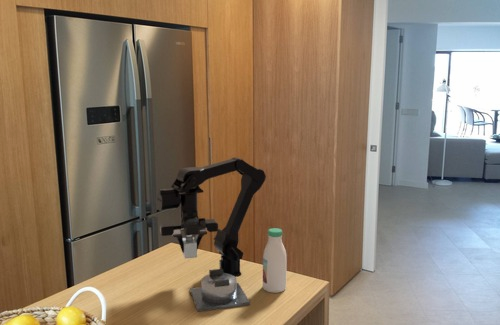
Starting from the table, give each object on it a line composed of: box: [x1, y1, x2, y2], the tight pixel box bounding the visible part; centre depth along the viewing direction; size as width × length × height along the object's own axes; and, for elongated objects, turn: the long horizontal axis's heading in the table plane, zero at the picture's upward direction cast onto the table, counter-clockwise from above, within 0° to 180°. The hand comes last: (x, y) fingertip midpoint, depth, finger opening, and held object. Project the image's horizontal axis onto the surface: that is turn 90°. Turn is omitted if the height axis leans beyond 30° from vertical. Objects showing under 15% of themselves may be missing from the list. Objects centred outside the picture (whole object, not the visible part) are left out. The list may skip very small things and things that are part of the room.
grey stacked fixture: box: [190, 268, 251, 313], centre depth 144 cm, size 16×14×8 cm
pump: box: [182, 235, 198, 260], centre depth 154 cm, size 4×6×6 cm, turn 16°
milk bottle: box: [262, 227, 288, 294], centre depth 150 cm, size 8×8×20 cm
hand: (189, 251), depth 154 cm, fingers closed on pump, 4 cm apart
